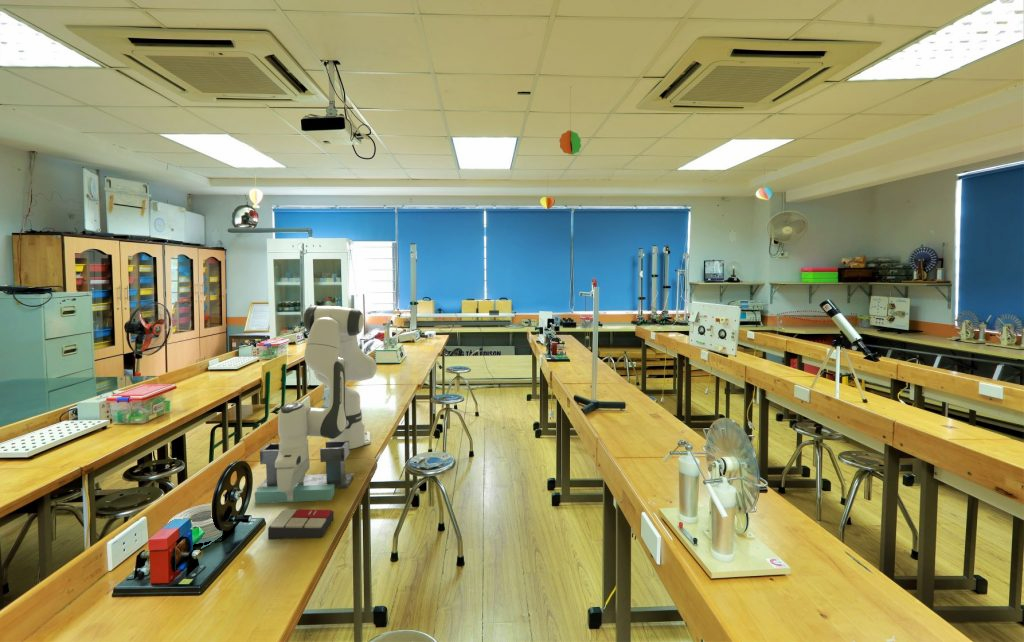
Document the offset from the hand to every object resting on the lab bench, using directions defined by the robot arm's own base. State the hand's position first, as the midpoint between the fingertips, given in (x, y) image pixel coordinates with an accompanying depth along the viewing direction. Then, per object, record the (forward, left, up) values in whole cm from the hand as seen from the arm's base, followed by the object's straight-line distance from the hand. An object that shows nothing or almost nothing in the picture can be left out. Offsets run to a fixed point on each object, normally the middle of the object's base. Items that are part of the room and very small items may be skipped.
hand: (295, 493), depth 163 cm
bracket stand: (-12, 0, -2) cm, 12 cm away
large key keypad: (+20, +8, -2) cm, 22 cm away
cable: (+20, -20, -2) cm, 28 cm away
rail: (0, 0, -2) cm, 2 cm away
